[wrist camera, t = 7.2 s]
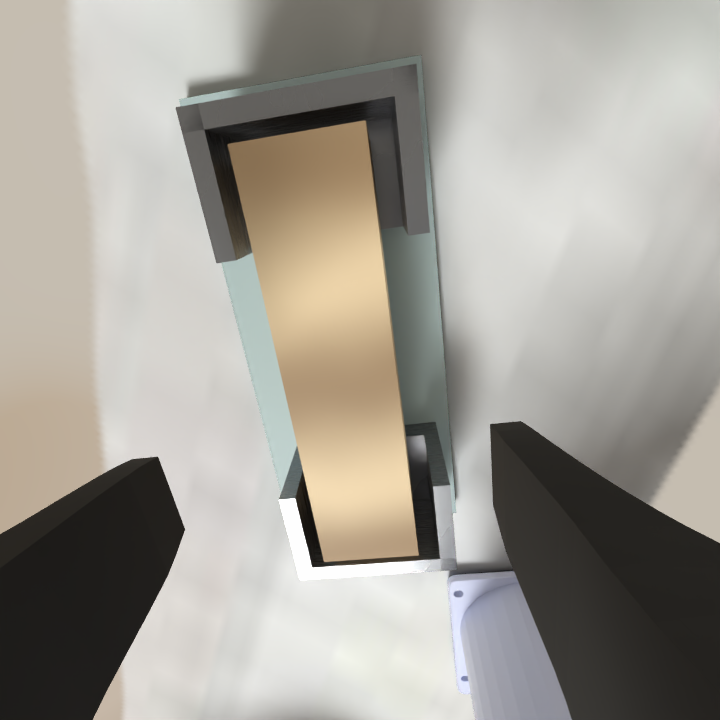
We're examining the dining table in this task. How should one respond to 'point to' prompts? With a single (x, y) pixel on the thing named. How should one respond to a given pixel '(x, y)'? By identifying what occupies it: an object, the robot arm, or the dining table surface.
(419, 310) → the board
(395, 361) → the rail
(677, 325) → the dining table surface
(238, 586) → the dining table surface
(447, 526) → the bracket
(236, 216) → the bracket
